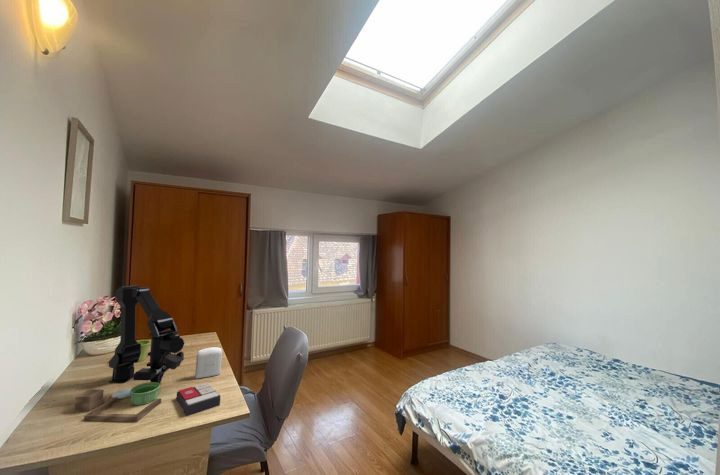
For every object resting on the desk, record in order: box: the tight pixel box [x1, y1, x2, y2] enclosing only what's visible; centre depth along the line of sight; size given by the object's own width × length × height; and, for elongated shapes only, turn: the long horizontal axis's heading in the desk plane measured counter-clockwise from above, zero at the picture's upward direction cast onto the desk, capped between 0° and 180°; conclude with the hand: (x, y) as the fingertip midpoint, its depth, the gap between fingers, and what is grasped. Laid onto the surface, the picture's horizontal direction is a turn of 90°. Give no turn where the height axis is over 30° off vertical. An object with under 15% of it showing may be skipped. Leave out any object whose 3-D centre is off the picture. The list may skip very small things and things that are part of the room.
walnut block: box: [74, 388, 105, 413], centre depth 98 cm, size 5×5×5 cm
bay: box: [83, 397, 162, 423], centre depth 96 cm, size 17×12×2 cm
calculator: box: [176, 382, 221, 417], centre depth 104 cm, size 11×4×15 cm
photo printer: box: [194, 346, 223, 379], centre depth 126 cm, size 10×4×12 cm, turn 123°
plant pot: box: [135, 339, 151, 364], centre depth 138 cm, size 9×9×9 cm
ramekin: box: [130, 381, 161, 406], centre depth 104 cm, size 9×9×4 cm
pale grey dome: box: [110, 387, 133, 400], centre depth 107 cm, size 7×7×1 cm
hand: (156, 388), depth 111 cm, fingers closed
